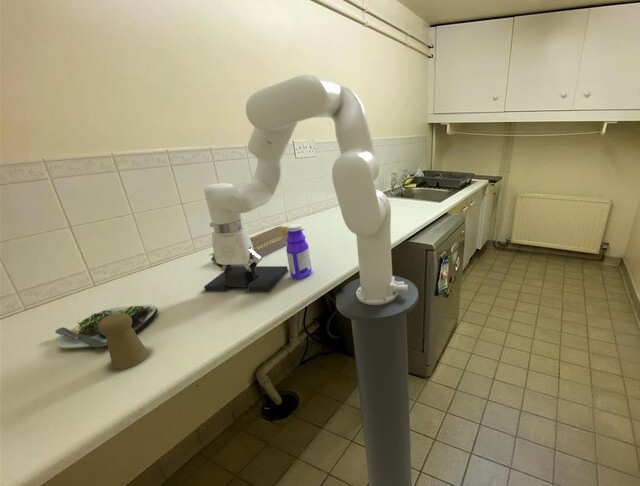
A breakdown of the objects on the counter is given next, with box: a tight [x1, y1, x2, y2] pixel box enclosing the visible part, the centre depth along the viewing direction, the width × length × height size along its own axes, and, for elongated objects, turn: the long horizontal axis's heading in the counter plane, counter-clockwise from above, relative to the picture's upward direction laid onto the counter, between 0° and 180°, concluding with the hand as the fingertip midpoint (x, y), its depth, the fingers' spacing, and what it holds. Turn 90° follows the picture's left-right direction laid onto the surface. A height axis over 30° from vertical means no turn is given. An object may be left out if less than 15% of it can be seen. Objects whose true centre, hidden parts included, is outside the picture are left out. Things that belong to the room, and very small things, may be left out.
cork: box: [98, 313, 149, 370], centre depth 66 cm, size 6×6×11 cm
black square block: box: [224, 267, 256, 288], centre depth 97 cm, size 6×6×4 cm
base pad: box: [204, 265, 289, 293], centre depth 101 cm, size 20×14×2 cm
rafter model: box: [208, 225, 305, 266], centre depth 126 cm, size 35×14×6 cm, turn 158°
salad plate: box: [54, 304, 159, 349], centre depth 77 cm, size 19×18×5 cm
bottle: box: [285, 223, 312, 280], centre depth 101 cm, size 7×6×17 cm
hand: (241, 280), depth 97 cm, fingers closed on black square block, 6 cm apart
